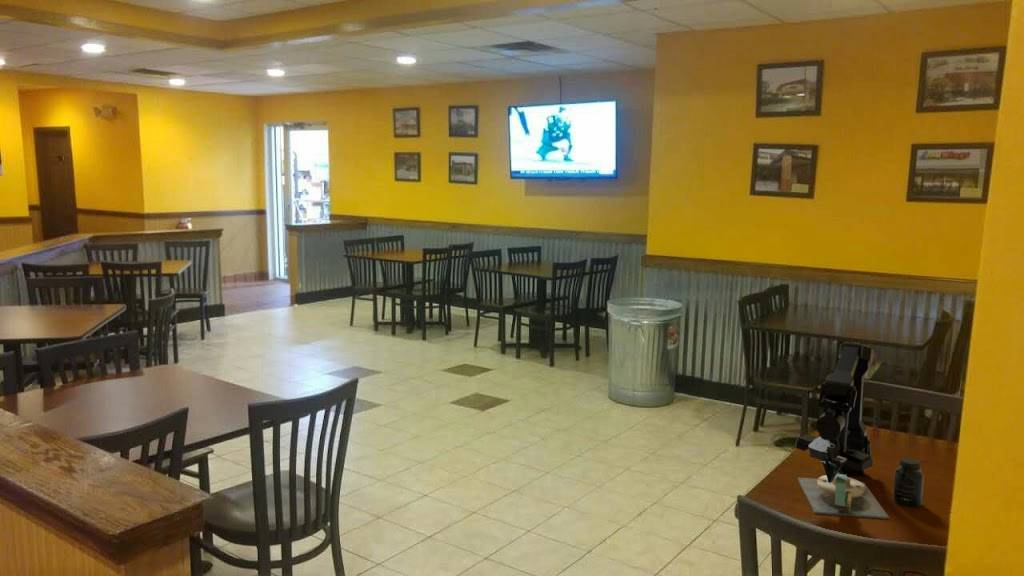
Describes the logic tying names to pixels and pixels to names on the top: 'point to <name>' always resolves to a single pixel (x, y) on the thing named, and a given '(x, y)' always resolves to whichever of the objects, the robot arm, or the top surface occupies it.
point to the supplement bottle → (908, 483)
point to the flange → (841, 487)
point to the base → (826, 505)
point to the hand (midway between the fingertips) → (830, 482)
